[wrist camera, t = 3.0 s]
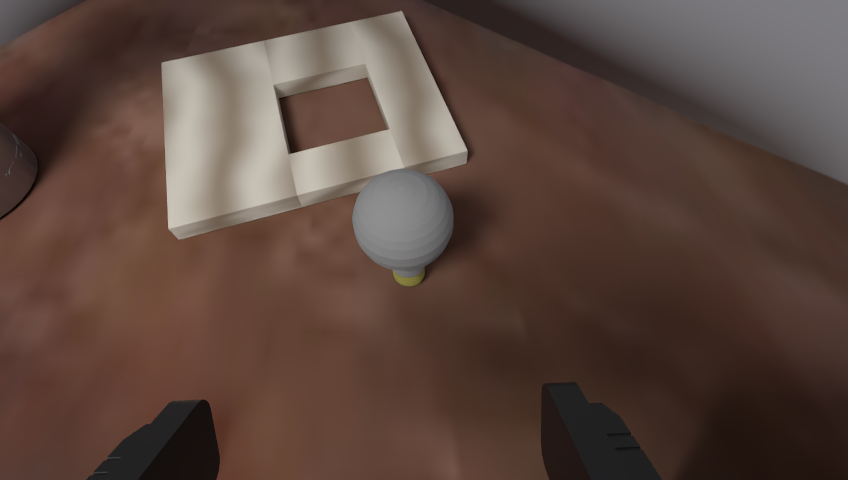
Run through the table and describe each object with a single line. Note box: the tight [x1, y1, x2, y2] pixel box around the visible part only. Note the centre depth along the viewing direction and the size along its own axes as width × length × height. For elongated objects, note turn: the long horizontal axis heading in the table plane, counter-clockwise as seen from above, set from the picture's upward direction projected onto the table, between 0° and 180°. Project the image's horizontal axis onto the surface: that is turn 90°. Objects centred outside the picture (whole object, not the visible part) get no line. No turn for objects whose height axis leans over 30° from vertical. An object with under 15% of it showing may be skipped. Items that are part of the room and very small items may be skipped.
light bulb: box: [352, 169, 453, 286], centre depth 27 cm, size 6×6×10 cm
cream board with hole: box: [162, 11, 468, 240], centre depth 39 cm, size 22×18×2 cm
